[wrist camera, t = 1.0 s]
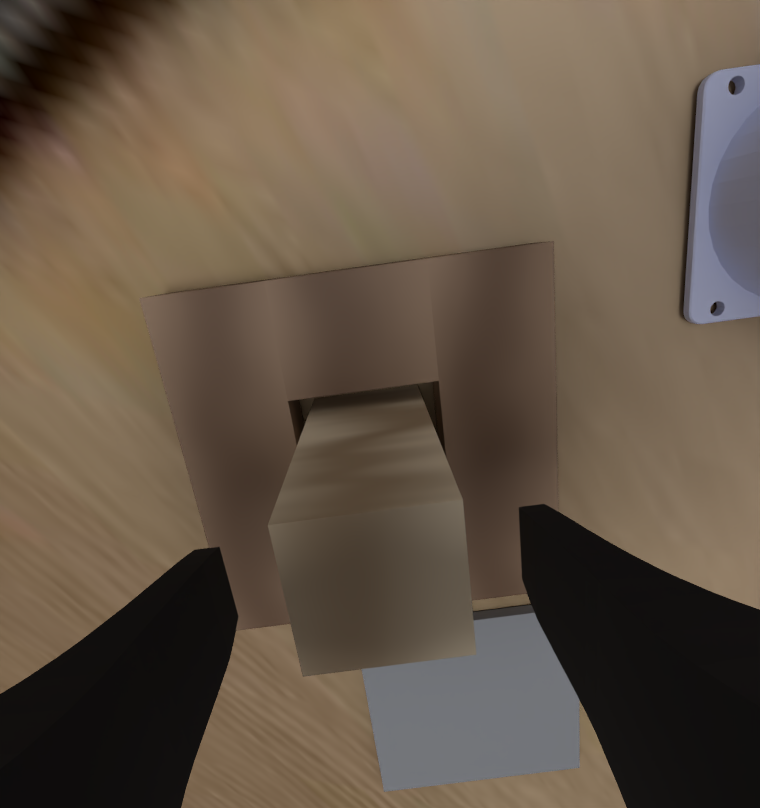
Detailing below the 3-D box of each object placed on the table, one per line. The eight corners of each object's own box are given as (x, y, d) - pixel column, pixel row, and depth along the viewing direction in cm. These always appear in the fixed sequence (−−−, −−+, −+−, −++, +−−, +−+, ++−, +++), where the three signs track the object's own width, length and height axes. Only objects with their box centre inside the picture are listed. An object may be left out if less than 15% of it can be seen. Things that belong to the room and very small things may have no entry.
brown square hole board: (532, 243, 17) (553, 241, 15) (542, 558, 21) (559, 589, 19) (165, 293, 17) (139, 298, 15) (244, 596, 21) (232, 631, 19)
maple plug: (417, 384, 18) (462, 499, 9) (427, 477, 19) (476, 654, 11) (314, 398, 18) (267, 525, 10) (331, 490, 19) (302, 676, 11)
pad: (574, 599, 21) (578, 607, 21) (575, 757, 24) (579, 767, 24) (355, 626, 21) (355, 635, 21) (383, 781, 24) (384, 791, 24)
